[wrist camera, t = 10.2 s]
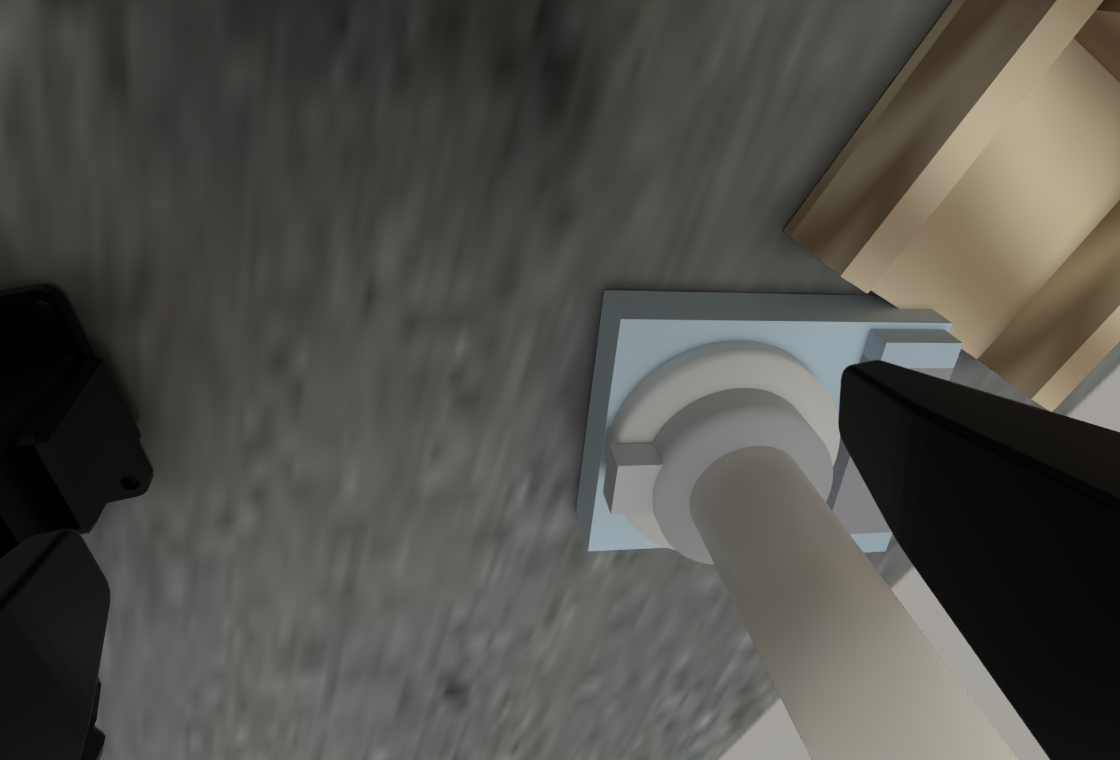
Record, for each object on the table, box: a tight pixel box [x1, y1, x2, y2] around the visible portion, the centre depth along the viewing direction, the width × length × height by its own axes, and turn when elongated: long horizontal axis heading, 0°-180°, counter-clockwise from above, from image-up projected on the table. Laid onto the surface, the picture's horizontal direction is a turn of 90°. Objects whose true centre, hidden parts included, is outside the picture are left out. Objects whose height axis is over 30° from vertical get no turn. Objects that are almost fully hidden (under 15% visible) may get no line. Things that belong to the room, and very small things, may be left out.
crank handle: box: [603, 388, 1018, 760], centre depth 18 cm, size 6×5×12 cm
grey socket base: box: [576, 290, 963, 552], centre depth 24 cm, size 10×8×3 cm
